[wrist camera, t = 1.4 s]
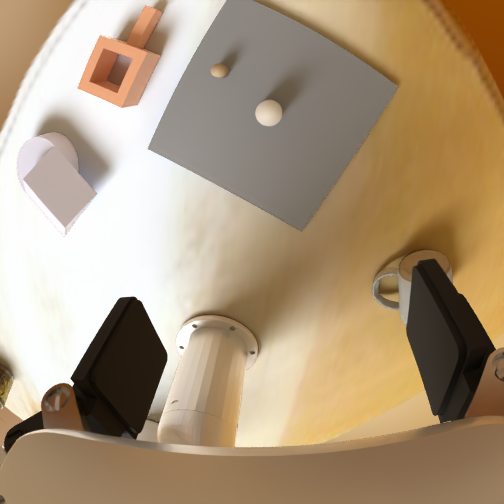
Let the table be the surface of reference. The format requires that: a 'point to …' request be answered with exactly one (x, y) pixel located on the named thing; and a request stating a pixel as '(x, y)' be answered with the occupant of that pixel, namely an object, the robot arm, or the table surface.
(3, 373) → the ceramic cup
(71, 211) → the wedge on round base
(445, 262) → the ceramic mug
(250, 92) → the base plate
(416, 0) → the table surface
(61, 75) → the table surface
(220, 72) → the dowel pin
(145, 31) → the square frame with post
